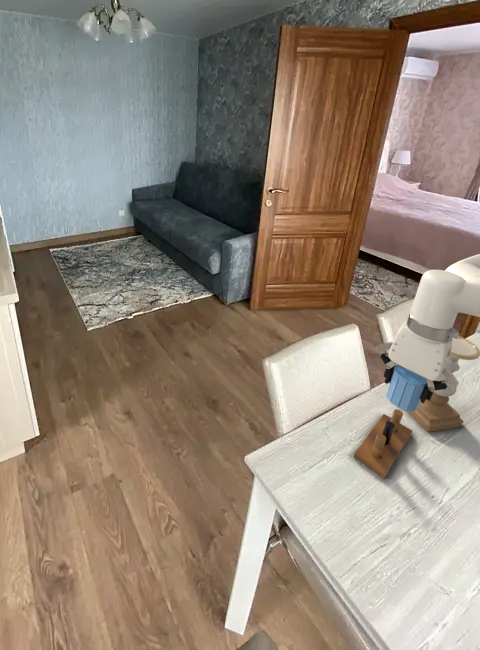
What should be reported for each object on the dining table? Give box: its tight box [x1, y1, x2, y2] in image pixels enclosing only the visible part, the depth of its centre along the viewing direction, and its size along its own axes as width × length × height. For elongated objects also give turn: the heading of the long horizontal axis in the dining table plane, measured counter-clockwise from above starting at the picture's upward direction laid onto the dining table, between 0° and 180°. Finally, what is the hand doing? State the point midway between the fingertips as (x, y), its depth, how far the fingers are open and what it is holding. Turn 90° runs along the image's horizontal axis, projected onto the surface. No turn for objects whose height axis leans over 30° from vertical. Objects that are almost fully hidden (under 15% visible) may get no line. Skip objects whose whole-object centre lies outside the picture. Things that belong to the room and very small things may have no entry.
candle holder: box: [407, 335, 480, 433], centre depth 93 cm, size 11×11×24 cm
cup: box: [385, 364, 427, 412], centre depth 80 cm, size 7×7×8 cm
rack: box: [353, 408, 413, 479], centre depth 86 cm, size 18×7×8 cm, turn 130°
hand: (405, 389), depth 80 cm, fingers closed on cup, 6 cm apart
